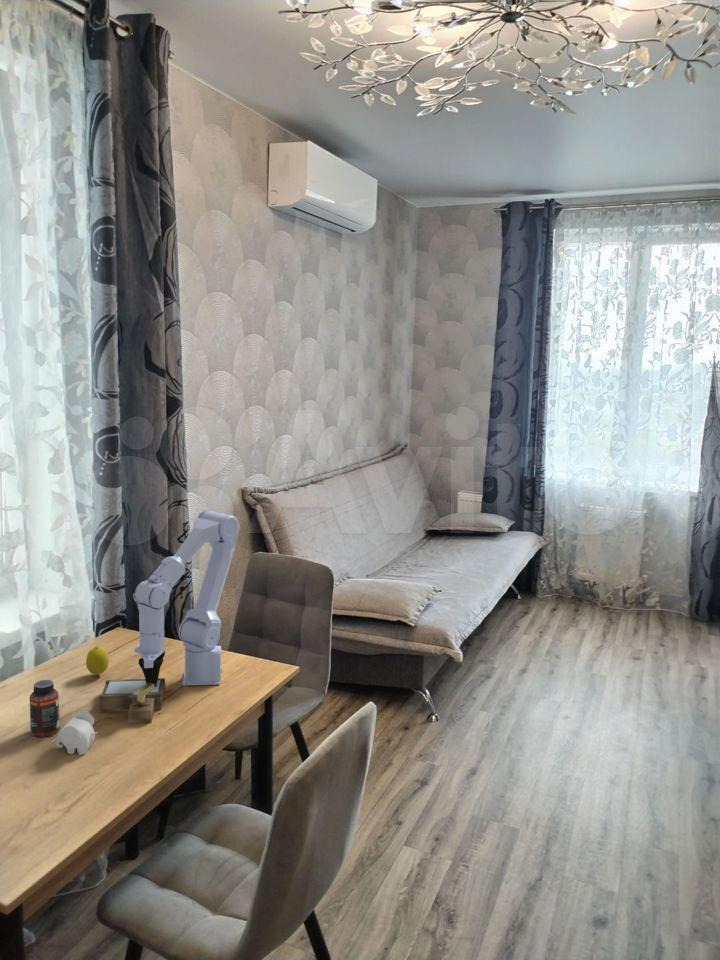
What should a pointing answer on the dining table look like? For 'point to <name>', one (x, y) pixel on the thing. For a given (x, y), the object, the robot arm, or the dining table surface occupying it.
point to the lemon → (97, 660)
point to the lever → (140, 695)
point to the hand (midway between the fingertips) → (152, 683)
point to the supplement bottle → (44, 709)
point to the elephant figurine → (77, 733)
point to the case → (135, 712)
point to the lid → (128, 687)
